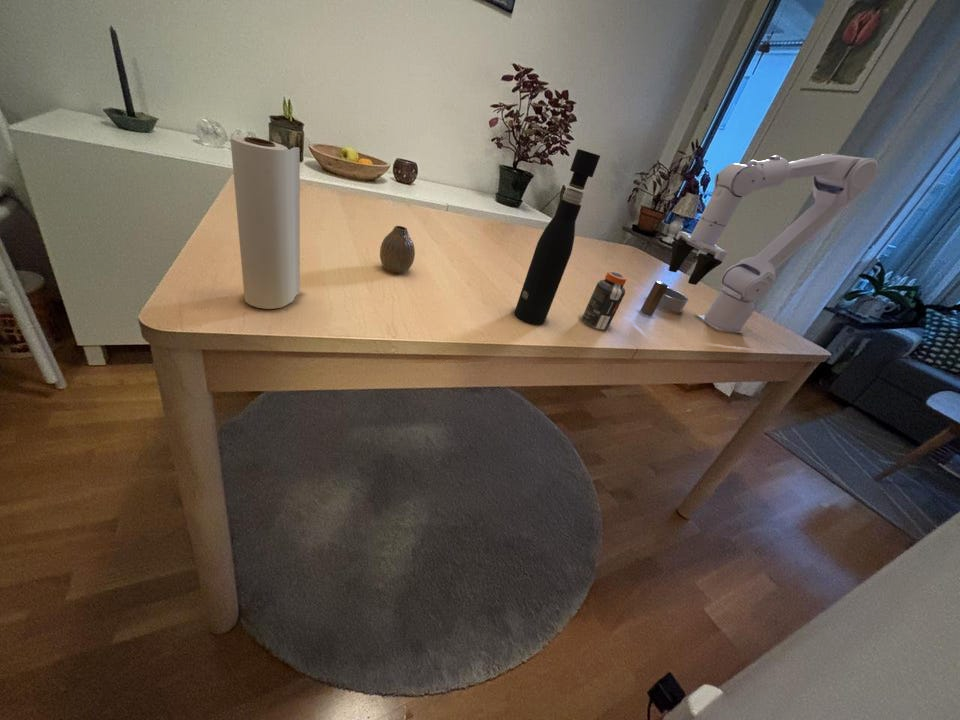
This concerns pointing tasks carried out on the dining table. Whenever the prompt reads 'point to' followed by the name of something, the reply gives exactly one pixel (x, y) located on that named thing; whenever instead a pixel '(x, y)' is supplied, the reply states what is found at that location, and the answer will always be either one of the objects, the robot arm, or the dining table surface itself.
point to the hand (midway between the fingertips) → (681, 277)
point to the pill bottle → (605, 301)
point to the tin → (673, 301)
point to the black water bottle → (555, 246)
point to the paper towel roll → (268, 219)
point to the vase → (397, 251)
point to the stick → (654, 298)
